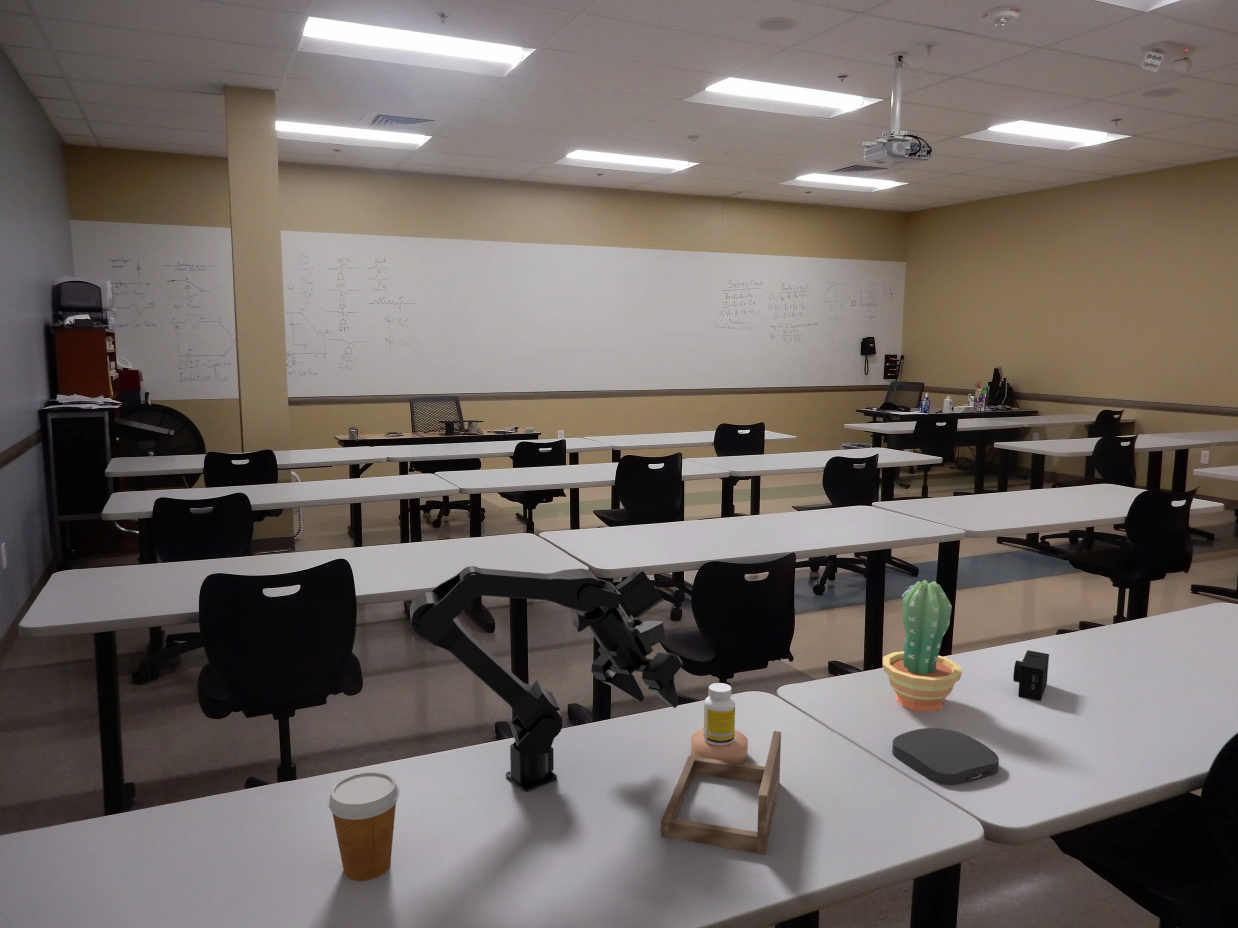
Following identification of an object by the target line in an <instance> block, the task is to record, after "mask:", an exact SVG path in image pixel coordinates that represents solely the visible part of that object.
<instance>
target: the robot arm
mask: <svg viewBox="0 0 1238 928" xmlns="http://www.w3.org/2000/svg"><path fill="white" fill-rule="evenodd" d="M478 596H482V597H483V596H484V597H499V598H509V599H510V598H512V599H522V600H523V599H524V600H538V601H548V602H552V603H555V604H558V605H560V606H563V607H566V608H569V609H571V610H576V611H575V612H574V613H575V615H574V616H575V617H574V620H573V622H572V625H573V627H574V628H575V630H576V631H577V632H578V633H580V632H582V631H584V630H585V629H587V628H588V629H589V631H590V632H591V634H592V635H593V636H594V638H595V640H596V641H597V643H598V644H599V645H600V646H599V648H598V649H597V651H598V652H599V654H600V655H598V657H596V659H595V660H594V661H593V662H592V663H591V673H592V674H593V676H594V677H595V679H596V680H599V681H602V683H604V684H607V685H609V686H611V687H612V688H614V689H616V690H618V691H619V692H622V693H623V694H625V695H626V696H629V697H630V698H632V699H634V700H636V701H637V702H640V703H641V702H643V701H644V699H645V696H644V693H643V692H642V689H641V688H640V685H639V684H638V682H637V679H636V678H635V676H634V674H633V673H635V672H640V673H642V674H641V679H642V681H643V684H645V685H646V686H648V687H647V689H648V690H649V691H650V692H651V693H653V694H654V695H656V696H657V697H659V699H661V700H662V701H663V702H665V703H666V704H667V705H669V706H670V707H672V708H673V709H676V708H677V707H678V706H679V699H678V694H677V689H676V685H675V675H676V674H677V673H678V671H679V670H680V669H681V668H682V667H683V665H684V664H683V661H682V660H681V658H680V657H679V655H678V654H677V653H671V652H670V653H669V652H668V653H667V652H656V654H655V656H654V657H653V658H647V656H650V654H651V653H652V652H654V649H653V646H656V645H657V644H659V643H661V642H666V641H667V640H668V636H667V632H666V629H665V625H664V622H663V621H661V620H646V621H645V620H644V621H641V620H640V618H642V616H644V615H646V613H648V612H649V611H651V610H652V609H654V608H655V607H656V606H658V605H659V604H661V603H662V602H664V601H665V599H664V597H663V595H662V594H661V591H660V590H659V589H658V587H657V586H656V585H654V583H653V582H652V580H651V579H650V578H649V577H648V575H647V574H646V572H645V571H644V570H643V569H642V568H638V569H636V570H635V571H634V572H632V573H631V574H630V575H629V576H628V577H627V578H624V580H622V581H621V582H620V583H617V584H616V585H613V583H612V582H610V581H608V580H607V581H606V580H603V579H600V578H597V577H596V575H595V574H594V573H593V572H591V571H590V570H589V569H586V568H572V569H571V568H570V569H562V570H559V571H555V572H549V573H548V572H547V573H541V572H529V571H516V570H507V569H496V568H495V569H494V568H483V567H477V566H474V565H471V566H470V565H469V566H466V567H464V568H463V569H462V570H461V571H459V572H458V573H457V574H455V575H454V576H452V577H450V578H448V579H446V580H445V581H443V582H442V583H439V584H438V585H437V586H435V587H434V588H433V589H432V590H431V591H427V592H426V591H425V592H423V593H420V594H418V595H417V596H415V597H414V599H413V600H412V601H411V604H410V605H409V616H410V624H411V628H412V631H413V632H414V633H415V635H416V636H418V637H419V638H421V639H423V640H424V641H426V642H428V643H429V644H431V645H433V646H434V647H436V648H439V649H442V650H444V651H448V652H449V653H450V654H452V655H453V656H454V657H455V658H456V659H457V660H458V661H459V662H460V663H462V664H463V665H464V666H465V667H466V668H467V669H469V671H471V672H472V673H473V674H474V675H475V676H476V677H478V678H479V680H480V681H482V682H483V683H484V684H485V685H487V687H489V688H490V689H491V690H492V691H493V692H494V693H495V694H496V695H497V696H499V697H500V698H501V699H502V700H503V701H504V702H505V703H506V704H507V705H509V707H510V709H512V711H513V712H514V714H515V715H516V716H515V717H514V718H513V719H512V720H511V721H510V722H509V725H510V729H511V733H512V735H513V739H514V742H513V743H511V744H510V745H509V751H510V752H509V756H510V757H509V760H510V762H509V763H510V770H509V771H507V772H505V777H506V778H507V779H509V780H510V781H511V782H513V783H514V784H515V785H516V786H518V787H519V788H520V789H522V790H523V791H530V790H532V789H535V788H537V787H541V786H542V785H545V784H548V783H551V782H553V781H555V780H557V779H558V775H557V774H556V773H554V772H553V771H554V769H555V768H554V766H555V765H554V764H555V762H554V761H555V760H554V758H555V756H554V747H552V745H553V744H554V740H555V738H556V737H557V736H558V735H559V734H560V733H561V731H562V728H563V724H564V723H563V721H564V720H563V717H562V715H561V713H560V710H561V709H560V706H559V704H558V702H557V700H556V698H555V696H554V694H553V692H552V691H550V690H549V691H548V690H547V689H545V688H544V687H543V685H542V684H541V683H540V681H539V680H538V679H536V680H535V681H534V683H533V684H532V685H531V684H528V683H526V682H523V681H522V680H521V679H520V678H519V677H517V675H515V674H514V673H513V671H511V670H510V669H509V668H508V667H507V666H505V665H504V664H503V663H502V662H501V661H500V660H499V659H498V658H497V657H496V656H494V654H492V653H491V652H490V651H489V650H488V649H487V648H486V647H484V645H483V644H481V643H480V642H479V641H478V640H477V639H476V638H475V637H474V636H472V635H471V634H470V633H469V631H467V630H466V629H465V627H464V626H463V625H462V623H461V622H460V620H459V618H458V616H459V615H460V614H461V613H463V611H464V610H465V609H466V608H467V607H468V605H469V604H470V603H471V602H472V601H473V600H475V599H476V598H477V597H478ZM617 606H619V607H620V609H621V611H622V612H623V613H624V615H625V616H626V617H627V618H628V620H627V621H626V620H625V619H624V617H623V615H622V614H621V613H620V611H619V610H618V608H617ZM631 617H632V618H631ZM630 618H631V619H630Z"/></svg>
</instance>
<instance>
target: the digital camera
mask: <svg viewBox="0 0 1238 928" xmlns="http://www.w3.org/2000/svg"><path fill="white" fill-rule="evenodd" d="M1049 659H1050V654H1049V653H1046V652H1040V651H1039V652H1038V651H1034V650H1029V649H1028V650H1026V653H1025V654H1024V657H1023V659H1022V661H1020V660H1015V663H1014V669H1013V676H1012V677H1013V679H1012V680H1013V682H1015V683H1018V693H1017V696H1018V698H1021V699H1022V698H1023V699H1028V700H1032V701H1037V702H1042V700H1043V697H1044V693H1045V690H1046V688H1047V685H1048V676H1049V675H1048V674H1049Z"/></svg>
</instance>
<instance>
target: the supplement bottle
mask: <svg viewBox="0 0 1238 928" xmlns="http://www.w3.org/2000/svg"><path fill="white" fill-rule="evenodd" d="M732 694H733V693H732V686H731V685H729V684H727V683H724V682H723V683H722V682H714V683H711V684H710V685H709V686H708V696H707V697H706V698H705V700H704V705H703V707H704V708H703V709H704V711H703V728H704V740H705V741H706V742H707V743H709V744H711V745H714V746H726V745H729V744H731V743H732V742H733V741H734V730H736V728H735V727H736V726H735V724H736V723H735V722H736V721H735V719H736V717H735V716H736V702H735V700H734V698H733V697H732Z"/></svg>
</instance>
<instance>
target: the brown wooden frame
mask: <svg viewBox="0 0 1238 928" xmlns="http://www.w3.org/2000/svg"><path fill="white" fill-rule="evenodd" d="M781 746H782V731H777V730H773V733H772V738H771V740H770V746H769V750H768V754H767V758H766V763H765V766H764V765H756V764H750V763H745V764H743V763H736V762H729V761H722V760H715V759H708V758H701V757H694V756H691V755H688V757H687V759H686V762H685V764H684V766H683V769H682V771H681V773H680V776H679V778H678V781H677V783H676V785H675V787H674V790H673V792H672V794H671V797H670V799H669V801H668V803H667V806H666V808H665V811H664V813H663V815H662V818H661V820H660V837H661V838H668V839H673V840H679V841H686V842H692V843H695V844H696V843H697V844H704V845H709V846H715V847H720V848H726V849H732V850H737V851H743V852H751V853H756V854H762V855H766V852H767V847H768V844H769V843H768V842H769V837H770V832H771V828H772V823H773V818H774V813H775V807H776V802H777V797H778V794H779V793H778V792H779V787H780V778H781V777H780V776H781V753H782V752H781V749H782V747H781ZM695 775H700V776H705V777H706V776H707V777H712V778H720V779H727V780H733V781H740V782H741V781H742V782H748V783H754V784H760V787H759V791H758V798H757V799H758V801H757V806H758V807H757V831H752V830H747V829H741V828H734V827H729V826H725V825H724V826H723V825H719V824H718V825H716V824H710V823H707V822H706V823H705V822H701V821H700V822H698V821H694V820H688V819H687V820H685V819H680V818H678V815H679V813H680V811H681V808H682V805H683V803H684V801H685V797H686V796H687V793H688V790H689V789H690V785H691V783H692V781H693V778H694V776H695Z"/></svg>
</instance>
